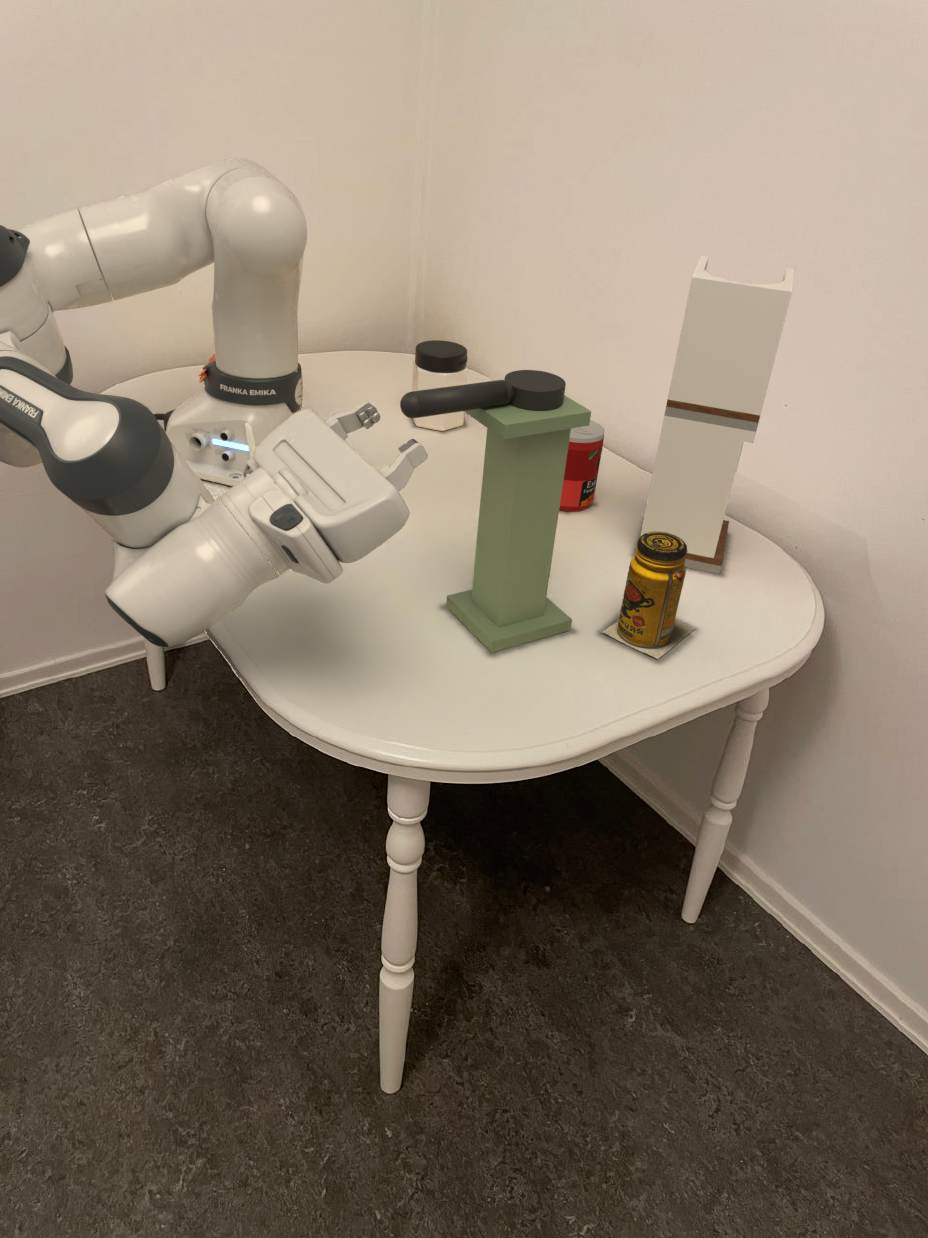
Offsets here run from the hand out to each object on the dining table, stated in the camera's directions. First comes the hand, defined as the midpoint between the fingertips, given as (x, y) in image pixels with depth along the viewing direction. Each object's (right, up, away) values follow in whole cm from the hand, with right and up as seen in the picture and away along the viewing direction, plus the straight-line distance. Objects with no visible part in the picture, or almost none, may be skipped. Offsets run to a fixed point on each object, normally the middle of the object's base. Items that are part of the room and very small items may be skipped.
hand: (397, 427), depth 88 cm
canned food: (+20, -1, +47) cm, 52 cm away
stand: (+10, -18, +20) cm, 29 cm away
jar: (+2, +14, +68) cm, 70 cm away
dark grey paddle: (+8, +3, +4) cm, 9 cm away
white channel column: (+35, -8, +39) cm, 53 cm away
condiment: (+27, -19, +21) cm, 39 cm away
